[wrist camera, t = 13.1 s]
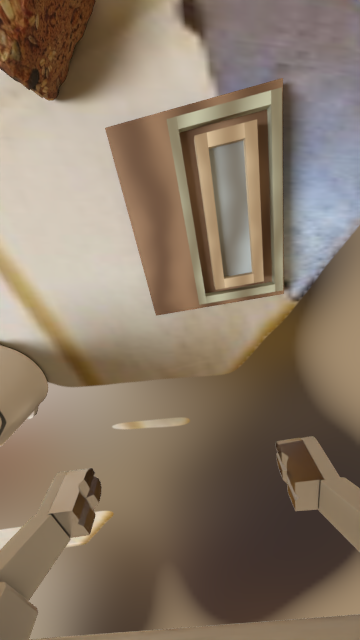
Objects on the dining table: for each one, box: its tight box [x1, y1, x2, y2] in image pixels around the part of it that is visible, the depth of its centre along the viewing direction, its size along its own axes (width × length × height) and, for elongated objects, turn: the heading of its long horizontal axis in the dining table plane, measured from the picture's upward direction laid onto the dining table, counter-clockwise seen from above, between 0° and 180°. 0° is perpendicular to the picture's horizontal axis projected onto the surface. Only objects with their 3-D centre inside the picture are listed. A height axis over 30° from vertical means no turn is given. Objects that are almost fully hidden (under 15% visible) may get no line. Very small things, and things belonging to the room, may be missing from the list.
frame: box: [194, 119, 264, 290], centre depth 26 cm, size 6×16×2 cm, turn 11°
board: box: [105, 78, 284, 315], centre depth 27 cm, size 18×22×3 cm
